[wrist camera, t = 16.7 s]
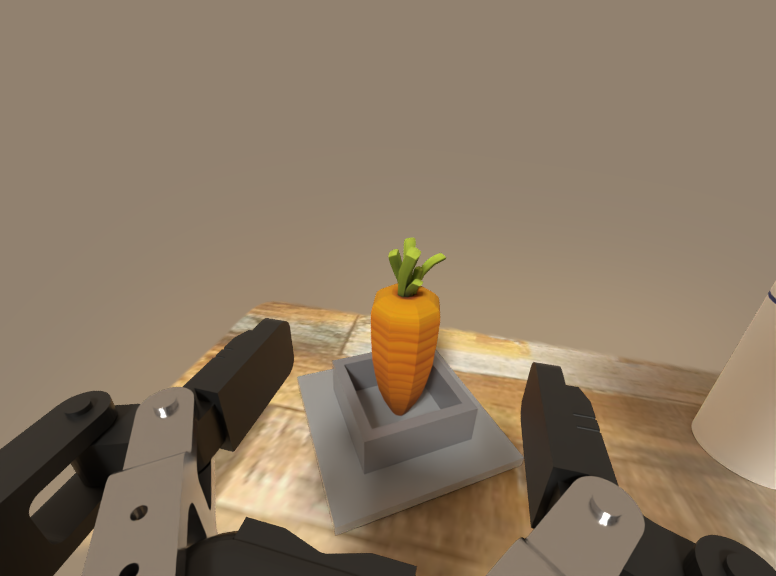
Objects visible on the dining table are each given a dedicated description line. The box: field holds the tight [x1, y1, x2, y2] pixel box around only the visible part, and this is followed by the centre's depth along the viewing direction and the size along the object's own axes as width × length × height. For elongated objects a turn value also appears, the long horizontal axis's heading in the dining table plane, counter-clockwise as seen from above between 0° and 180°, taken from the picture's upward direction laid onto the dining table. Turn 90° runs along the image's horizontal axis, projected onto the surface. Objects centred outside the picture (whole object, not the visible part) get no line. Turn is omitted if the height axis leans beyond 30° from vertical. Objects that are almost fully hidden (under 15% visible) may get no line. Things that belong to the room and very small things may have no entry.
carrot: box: [371, 238, 446, 416], centre depth 26 cm, size 5×5×15 cm
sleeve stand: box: [297, 350, 524, 536], centre depth 29 cm, size 14×14×4 cm
